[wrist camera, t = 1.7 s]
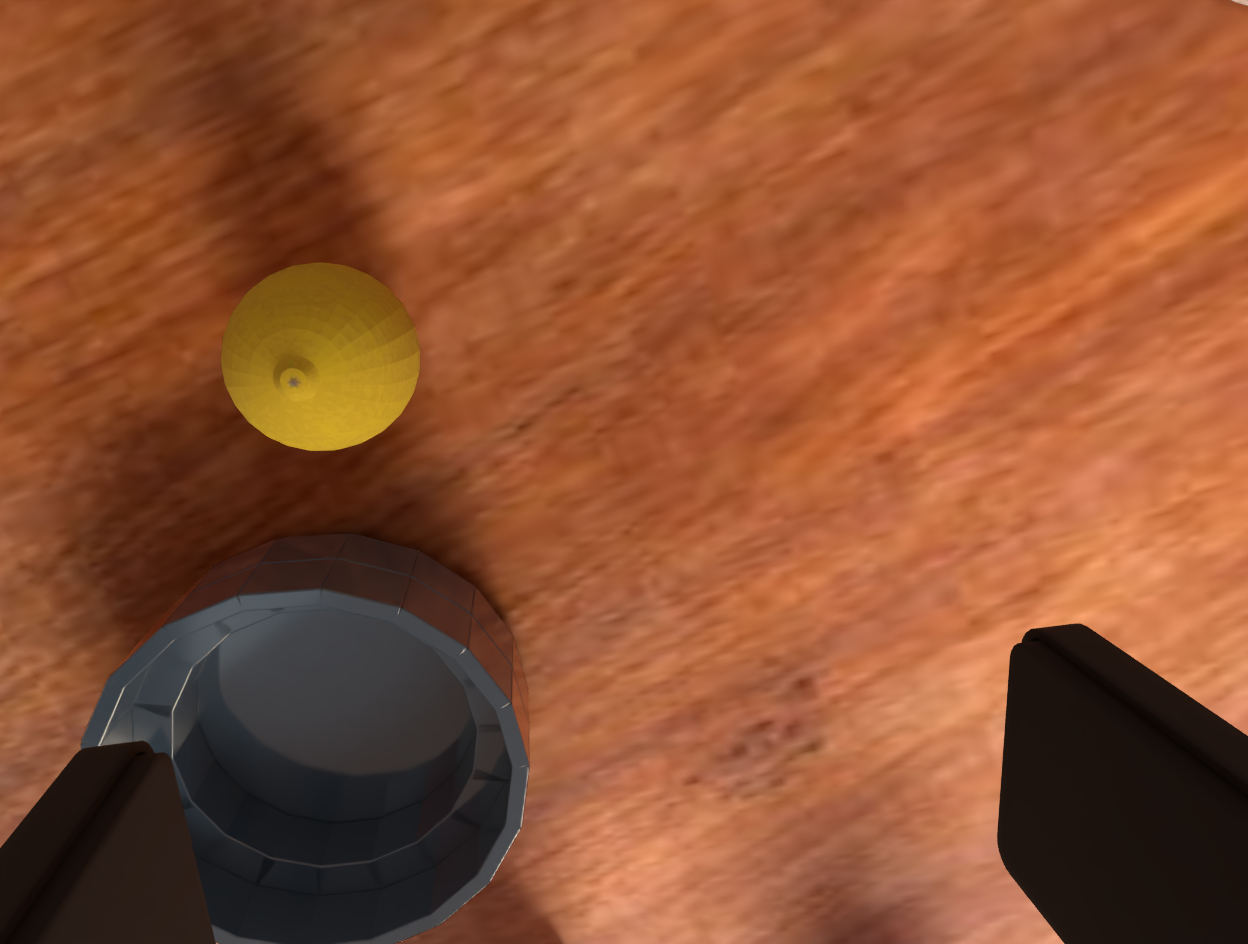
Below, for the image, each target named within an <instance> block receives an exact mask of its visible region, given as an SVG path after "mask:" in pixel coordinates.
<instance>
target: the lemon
mask: <svg viewBox="0 0 1248 944" xmlns="http://www.w3.org/2000/svg"><path fill="white" fill-rule="evenodd" d="M221 366H222V372H223V377H224V382H225V386H226V388H227V390H228V392H229V394H230V396H231V398H232V400H233V402H234V404H235V406H236V407H237V408H238V410H239V411H240V412H241V413H242V414H243V416H244V417H245V418H246V419H247V421H248V422H249V423H250V424H252V425H253V426H254V427H255V428H257V429H258V430H259V431H261V432H262V433H263V434H264V435H266V436H267V437H269V438H271V439H274V440H276V441H278V442H280V443H282V444H284V445H287V446H291V447H295V448H300V449H305V450H309V451H329V450H339V449H343V448H346V447H350V446H354V445H357V444H361V443H363V442H365V441H366V440H368V439H370V438H372V437H374V436H375V435H377V434H379V433H381V432H382V431H384V430H385V429H386V428H387V427H388V426H389V425H390V424H391V423H392V422H393V421H394V420H395V419H396V418H397V417H398V416H399V415H400V414H401V413H402V412H403V410H404V408H405V407H406V405H407V403H408V402H409V400H410V398H411V396H412V395H413V393H414V390H415V386H416V383H417V379H418V375H419V372H420V344H419V341H418V337H417V333H416V329H415V325H414V323H413V321H412V320H411V318H410V316H409V314H408V312H407V310H406V308H405V307H404V305H403V304H402V303H401V301H400V300H399V299H398V298H397V297H396V296H395V295H394V294H393V293H392V291H391V290H390V289H389V288H388V287H387V286H385V285H384V284H382V283H381V282H379V281H378V280H376V279H375V278H373V277H372V276H370V275H369V274H367V273H364V272H362V271H359V270H356V269H354V268H351V267H348V266H346V265H339V264H331V263H324V262H316V263H309V264H301V265H293V266H291V267H288V268H286V269H283V270H281V271H278V272H276V273H274V274H271V275H269V276H267V277H266V278H265V279H263V280H262V281H261V282H260V283H258V284H257V285H256V286H254V287H253V288H252V289H250V290H249V291H248V292H247V293H246V294H245V296H244V297H243V298H242V300H241V301H240V303H239V304H238V305H237V307H236V308H235V309H234V311H233V312H232V314H231V316H230V319H229V322H228V325H227V327H226V330H225V333H224V336H223V339H222V352H221Z"/></svg>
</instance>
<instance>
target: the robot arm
mask: <svg viewBox="0 0 1248 944" xmlns="http://www.w3.org/2000/svg"><path fill="white" fill-rule="evenodd" d="M1232 1H1233V2H1237V3H1240V4H1244V5H1247V6H1248V0H1232ZM997 841H998V848H999V852H1000V855H1001V858H1002V861H1003V863H1004V865H1005V867H1006V869H1007V870H1008V872H1009V874H1010V875H1011V876H1012V877H1013V879H1014V880H1015V881H1016V883H1017V884H1018V885H1019V886H1020V888H1021V889H1022V890H1023V891H1024V893H1025V894H1026V895H1027V896H1028V898H1029V899H1030V900H1031V902H1032V903H1033V904H1034V905H1035V907H1036V908H1037V909H1038V910H1039V912H1040V913H1041V914H1042V916H1043V917H1044V918H1045V919H1046V921H1047V922H1048V923H1049V924H1050V926H1051V927H1052V928H1053V930H1054V931H1055V932H1056V933H1057V935H1058V936H1059V937H1060V938H1061V940H1062V941H1063V942H1064V943H1065V944H1248V736H1247V735H1245V734H1244V733H1242V732H1241V731H1240V730H1238V729H1237V728H1235V727H1234V726H1232V725H1231V724H1229V723H1228V722H1226V721H1225V720H1223V719H1222V718H1220V717H1219V716H1218V715H1216V714H1215V713H1213V712H1212V711H1210V710H1209V709H1207V708H1206V707H1204V706H1203V705H1201V704H1200V703H1198V702H1197V701H1196V700H1194V699H1193V698H1191V697H1190V696H1188V695H1187V694H1185V693H1184V692H1182V691H1181V690H1179V689H1178V688H1176V687H1175V686H1174V685H1172V684H1171V683H1169V682H1168V681H1166V680H1165V679H1163V678H1162V677H1160V676H1159V675H1157V674H1156V673H1154V672H1153V671H1152V670H1150V669H1149V668H1147V667H1146V666H1144V665H1143V664H1141V663H1140V662H1138V661H1137V660H1135V659H1134V658H1132V657H1131V656H1130V655H1128V654H1127V653H1125V652H1124V651H1122V650H1121V649H1119V648H1118V647H1116V646H1115V645H1113V644H1112V643H1110V642H1109V641H1108V640H1106V639H1105V638H1103V637H1102V636H1100V635H1099V634H1097V633H1096V632H1094V631H1093V630H1091V629H1090V628H1088V627H1087V626H1084V625H1082V624H1068V625H1060V626H1052V627H1044V628H1036V629H1031V630H1029V631H1028V632H1026V634H1025V635H1024V637H1023V639H1022V643H1018V644H1016V645H1015V646H1014V647H1013V649H1012V651H1011V655H1010V665H1009V679H1008V693H1007V707H1006V721H1005V735H1004V749H1003V763H1002V777H1001V791H1000V805H999V819H998V833H997ZM0 944H216V942H215V938H214V934H213V930H212V926H211V921H210V917H209V913H208V909H207V905H206V901H205V896H204V892H203V888H202V884H201V880H200V875H199V871H198V867H197V863H196V859H195V855H194V850H193V846H192V842H191V838H190V834H189V830H188V825H187V821H186V817H185V813H184V809H183V805H182V800H181V796H180V792H179V788H178V784H177V780H176V775H175V771H174V767H173V764H172V761H171V758H170V757H169V756H168V754H166V753H164V752H160V753H154V751H153V749H152V748H151V746H150V745H149V743H147V742H145V741H143V740H142V741H134V742H126V743H118V744H110V745H102V746H94V747H88V748H83V749H81V750H80V751H79V752H78V753H77V754H76V755H75V756H74V757H73V758H72V760H71V761H70V762H69V763H68V765H67V766H66V767H65V768H64V770H63V771H62V772H61V773H60V775H59V776H58V777H57V778H56V780H55V781H54V782H53V783H52V785H51V786H50V787H49V788H48V790H47V791H46V792H45V793H44V795H43V796H42V797H41V798H40V799H39V801H38V802H37V803H36V804H35V806H34V807H33V808H32V809H31V811H30V812H29V813H28V814H27V816H26V817H25V818H24V819H23V821H22V822H21V823H20V824H19V826H18V827H17V828H16V829H15V831H14V832H13V833H12V834H11V836H10V837H9V838H8V839H7V841H6V842H5V843H4V844H3V846H2V847H1V848H0Z"/></svg>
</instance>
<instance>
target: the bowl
mask: <svg viewBox="0 0 1248 944" xmlns="http://www.w3.org/2000/svg"><path fill="white" fill-rule="evenodd" d="M142 740H143V741H145V742H147V743H149V745H150V746H151V748H152V749H153V751H154V753H160V752H164V753H166V754H168V756H169V757H170V758H171V761H172V764H173V767H174V771H175V775H176V780H177V784H178V788H179V792H180V796H181V800H182V805H183V809H184V813H185V817H186V821H187V825H188V830H189V834H190V838H191V842H192V846H193V850H194V855H195V859H196V863H197V867H198V871H199V875H200V880H201V884H202V888H203V892H204V896H205V901H206V905H207V909H208V913H209V917H210V921H211V926H212V930H213V934H214V938H215V942H216V943H218V944H396V943H398V942H400V941H403V940H405V939H408V938H410V937H412V936H415V935H417V934H420V933H422V932H424V931H427V930H429V929H432V928H434V927H436V926H438V925H441V924H442V923H443V922H444V921H446V920H447V919H448V918H449V917H450V916H451V915H453V914H454V913H455V912H456V911H457V910H459V909H460V908H461V907H462V906H463V905H464V904H466V903H467V902H468V901H469V900H470V899H472V898H473V897H474V896H475V895H476V894H477V893H479V892H480V891H481V890H482V889H483V888H485V887H486V886H487V885H488V884H489V883H490V881H491V880H492V878H493V877H494V875H495V873H496V871H497V870H498V868H499V866H500V864H501V863H502V861H503V859H504V857H505V856H506V854H507V852H508V850H509V849H510V847H511V845H512V843H513V842H514V840H515V838H516V836H517V835H518V833H519V831H520V829H521V827H522V824H523V816H524V808H525V800H526V792H527V785H528V777H529V769H530V748H529V692H528V686H527V683H526V679H525V675H524V672H523V668H522V665H521V661H520V658H519V654H518V651H517V647H516V643H515V640H514V637H513V636H512V633H511V632H510V630H509V629H508V628H507V626H506V625H505V624H504V623H503V621H502V620H501V619H500V617H499V616H498V615H497V613H496V612H495V611H494V609H493V608H492V607H491V606H490V604H489V603H488V602H487V600H486V599H485V598H484V596H483V595H482V594H481V593H480V591H479V590H478V589H477V587H474V585H473V584H471V583H470V582H468V581H466V580H465V579H463V578H462V577H460V576H459V575H457V574H456V573H454V572H452V571H451V570H449V569H448V568H446V567H445V566H443V565H441V564H440V563H438V562H437V561H435V560H434V559H432V558H431V557H429V556H427V555H426V554H424V553H423V552H421V551H418V550H417V549H413V548H409V547H405V546H401V545H397V544H393V543H389V542H385V541H381V540H377V539H373V538H369V537H365V536H361V535H357V534H350V533H341V534H327V535H313V536H299V537H284V538H280V539H275V540H272V541H270V542H268V543H265V544H263V545H261V546H258V547H256V548H253V549H251V550H249V551H246V552H244V553H242V554H239V555H237V556H235V557H232V558H230V559H227V560H225V561H223V562H220V563H218V564H216V565H215V566H213V567H212V568H211V569H210V570H209V571H208V572H207V573H206V574H205V575H203V576H202V577H201V578H200V579H199V580H198V581H197V582H196V583H195V584H194V585H193V586H192V587H191V588H190V589H189V590H188V591H187V592H186V593H185V594H184V595H182V596H181V597H180V598H179V599H178V600H177V601H176V602H175V603H174V604H173V605H172V606H171V607H170V608H169V609H168V610H167V611H166V612H165V613H164V615H163V616H162V617H161V618H160V619H159V620H158V621H157V622H156V624H155V625H154V626H153V627H152V628H151V629H150V630H149V632H148V633H147V634H146V635H145V636H144V637H143V638H142V640H141V641H140V642H139V643H138V644H137V645H136V646H135V647H134V648H133V650H132V651H131V652H130V653H129V654H128V655H127V656H126V658H125V659H124V660H123V661H122V662H121V663H120V664H119V665H118V667H117V668H116V669H115V670H114V671H113V672H112V673H111V675H110V676H109V678H108V679H107V680H106V683H105V685H104V687H103V690H102V692H101V695H100V697H99V699H98V702H97V704H96V706H95V709H94V711H93V713H92V716H91V718H90V720H89V723H88V725H87V727H86V730H85V732H84V735H83V737H82V739H81V749H83V748H88V747H94V746H102V745H110V744H118V743H126V742H134V741H142Z"/></svg>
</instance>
